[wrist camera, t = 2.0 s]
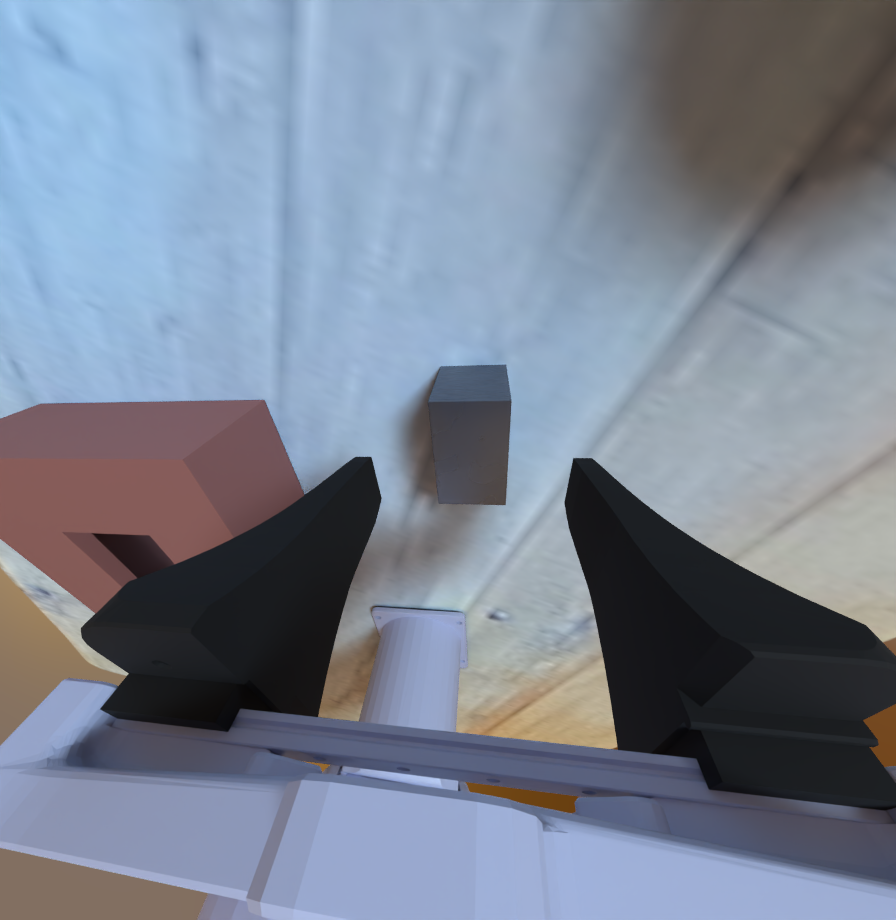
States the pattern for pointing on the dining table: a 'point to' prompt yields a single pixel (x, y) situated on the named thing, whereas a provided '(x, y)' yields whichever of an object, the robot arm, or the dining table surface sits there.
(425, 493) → the dining table surface
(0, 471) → the box
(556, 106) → the dining table surface
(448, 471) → the grey rectangular block
